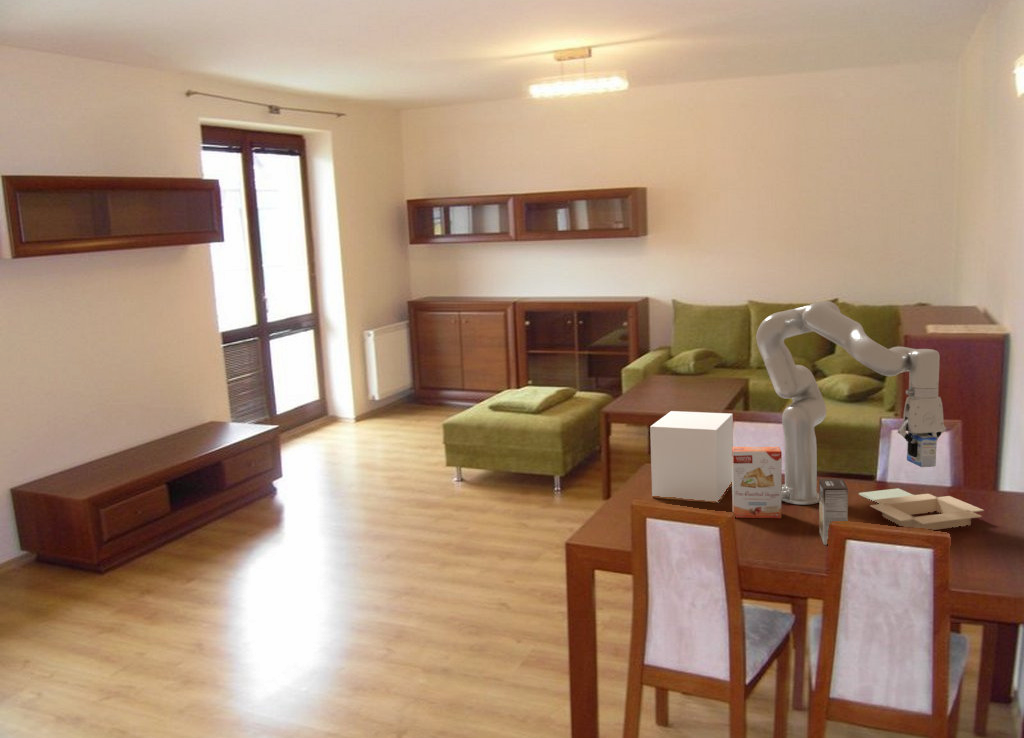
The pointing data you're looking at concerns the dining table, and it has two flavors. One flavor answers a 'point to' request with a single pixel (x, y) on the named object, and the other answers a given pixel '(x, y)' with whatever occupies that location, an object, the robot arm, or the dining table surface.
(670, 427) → the cube
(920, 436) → the medicine box
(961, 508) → the carton
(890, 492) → the sage board
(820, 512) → the coffee box
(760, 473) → the cracker box
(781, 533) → the dining table surface
